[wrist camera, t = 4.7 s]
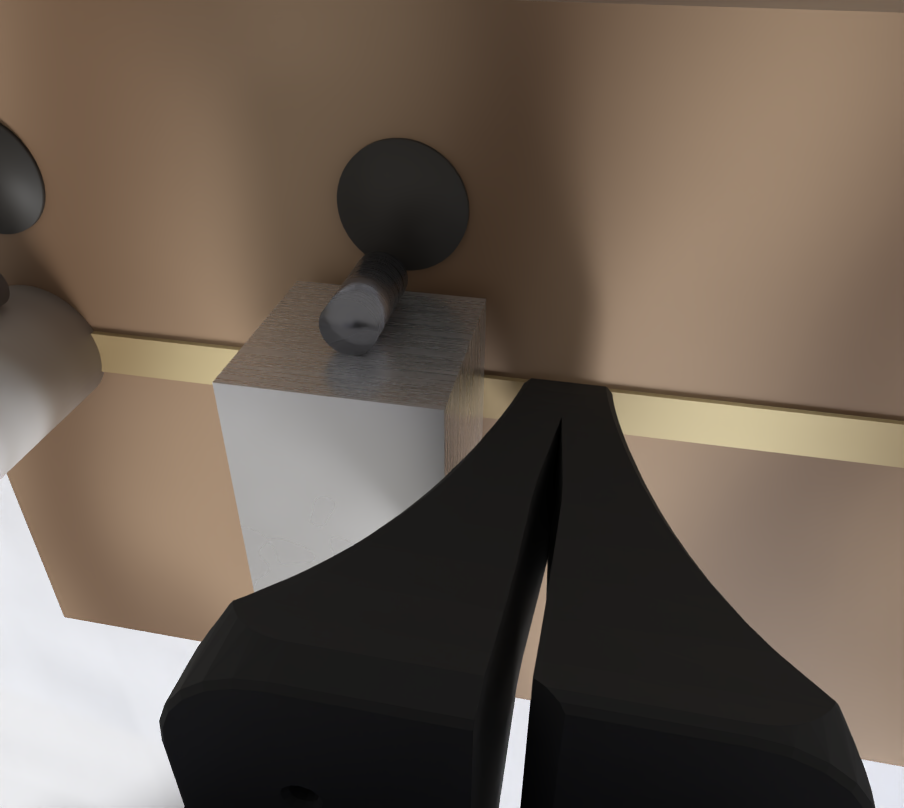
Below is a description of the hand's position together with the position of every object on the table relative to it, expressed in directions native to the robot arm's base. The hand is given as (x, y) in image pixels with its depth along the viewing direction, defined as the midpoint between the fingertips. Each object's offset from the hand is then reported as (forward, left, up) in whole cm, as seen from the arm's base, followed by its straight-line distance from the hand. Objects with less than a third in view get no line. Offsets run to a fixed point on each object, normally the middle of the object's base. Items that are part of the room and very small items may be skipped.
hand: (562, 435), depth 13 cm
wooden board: (+2, +1, -2) cm, 3 cm away
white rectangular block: (+3, 0, -1) cm, 3 cm away
